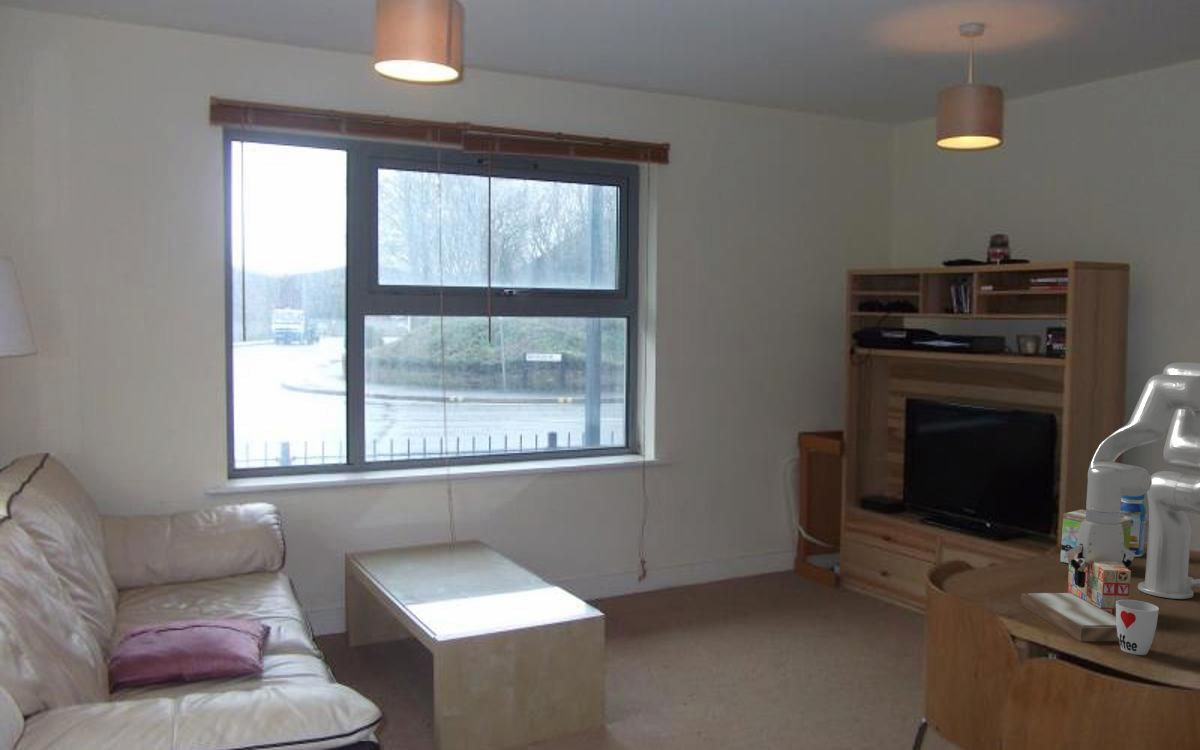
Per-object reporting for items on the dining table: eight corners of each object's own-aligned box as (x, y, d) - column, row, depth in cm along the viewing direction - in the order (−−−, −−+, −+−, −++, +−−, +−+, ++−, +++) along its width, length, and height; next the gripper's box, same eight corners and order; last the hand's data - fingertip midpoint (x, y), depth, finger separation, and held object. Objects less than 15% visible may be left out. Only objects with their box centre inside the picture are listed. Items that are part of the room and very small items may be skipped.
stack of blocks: (1066, 593, 258) (1069, 546, 257) (1091, 594, 257) (1094, 547, 257) (1100, 620, 237) (1103, 568, 236) (1128, 621, 236) (1131, 570, 235)
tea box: (1059, 562, 289) (1062, 512, 287) (1077, 558, 295) (1080, 508, 293) (1111, 575, 277) (1114, 522, 275) (1129, 569, 283) (1132, 518, 281)
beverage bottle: (1150, 557, 297) (1154, 490, 296) (1126, 558, 295) (1130, 491, 294) (1129, 549, 306) (1133, 485, 304) (1105, 550, 304) (1109, 485, 302)
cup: (1105, 644, 219) (1108, 599, 218) (1140, 644, 220) (1143, 599, 219) (1127, 657, 211) (1130, 611, 210) (1164, 657, 212) (1167, 611, 211)
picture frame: (1071, 604, 248) (1072, 591, 247) (1136, 640, 222) (1137, 626, 222) (1020, 605, 246) (1021, 592, 246) (1080, 641, 221) (1081, 626, 220)
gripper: (1126, 514, 249) (1122, 581, 250) (1060, 513, 247) (1056, 581, 249) (1145, 520, 242) (1141, 590, 243) (1077, 520, 240) (1073, 590, 241)
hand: (1098, 586), depth 246 cm, fingers open, 9 cm apart
